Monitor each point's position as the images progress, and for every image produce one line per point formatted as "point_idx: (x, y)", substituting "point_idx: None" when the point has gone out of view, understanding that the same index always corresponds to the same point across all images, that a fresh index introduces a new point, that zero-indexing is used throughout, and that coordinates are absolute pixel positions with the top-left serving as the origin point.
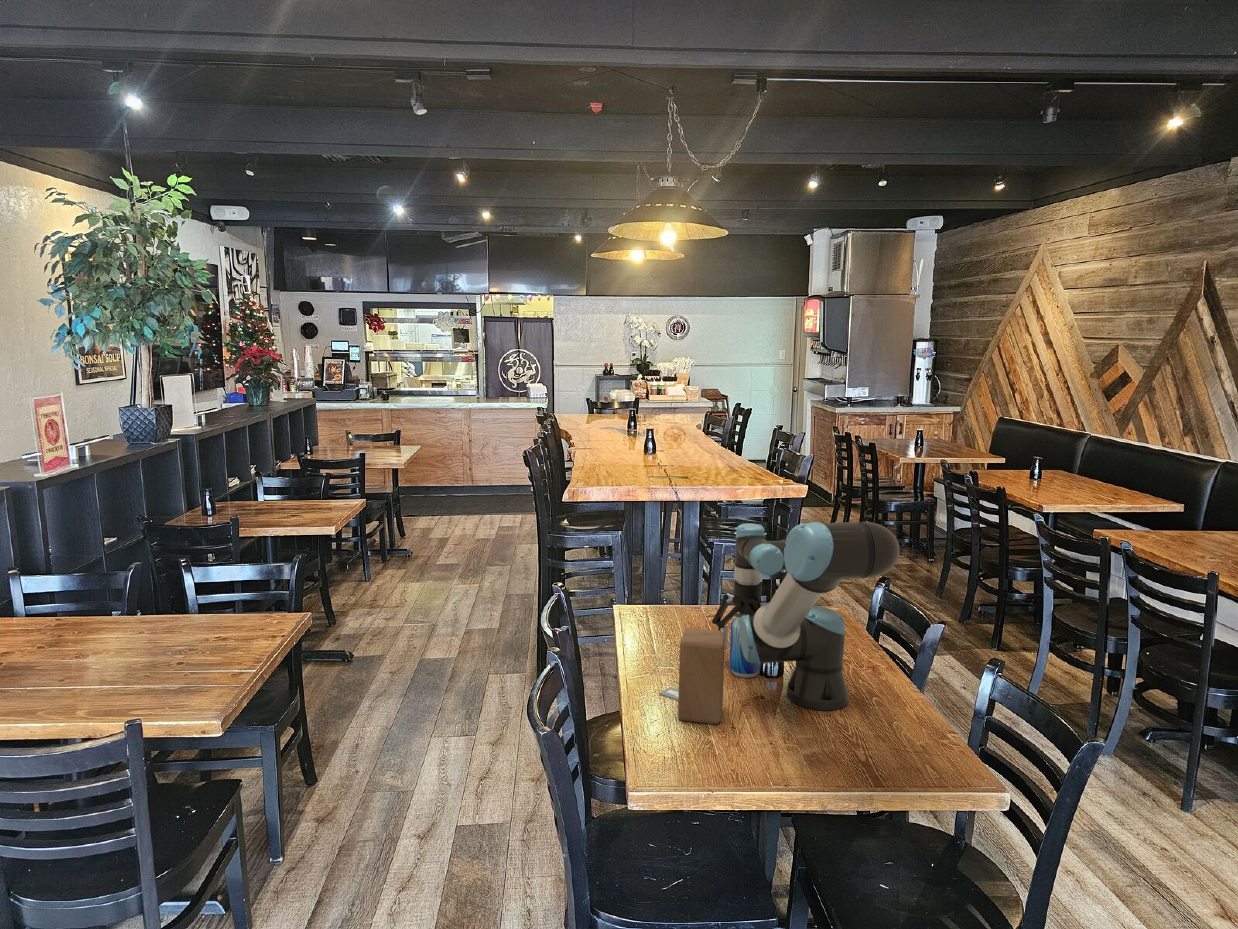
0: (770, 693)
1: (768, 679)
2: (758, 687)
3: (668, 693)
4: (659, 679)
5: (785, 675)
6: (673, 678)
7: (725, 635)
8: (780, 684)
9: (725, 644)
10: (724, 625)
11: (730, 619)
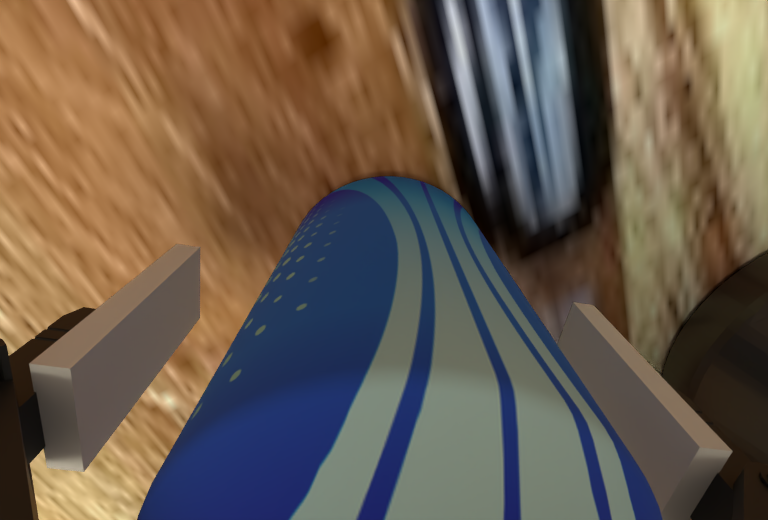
0: None
1: (539, 280)
2: None
3: None
4: (76, 511)
5: (631, 173)
6: (117, 480)
7: (134, 353)
8: (614, 308)
9: (179, 294)
10: (22, 408)
11: (29, 501)
